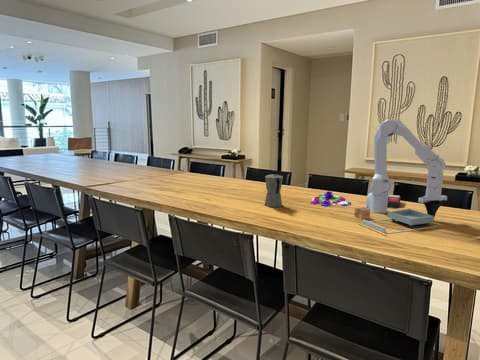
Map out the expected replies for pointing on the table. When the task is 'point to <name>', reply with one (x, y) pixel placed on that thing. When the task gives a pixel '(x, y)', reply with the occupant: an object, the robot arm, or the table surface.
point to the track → (383, 229)
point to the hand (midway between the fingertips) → (430, 217)
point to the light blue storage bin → (410, 217)
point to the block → (362, 213)
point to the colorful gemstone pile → (329, 200)
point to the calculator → (393, 201)
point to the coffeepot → (273, 190)
